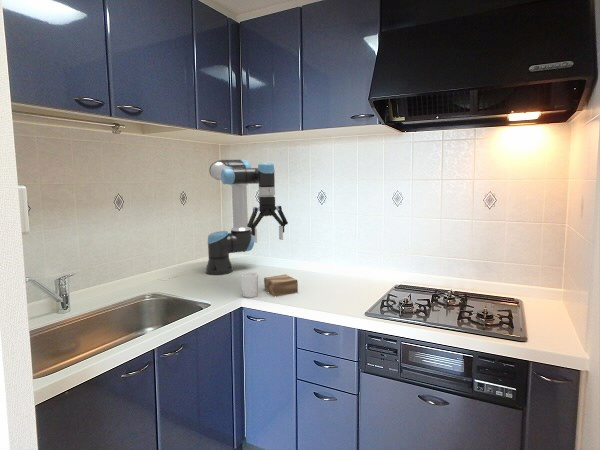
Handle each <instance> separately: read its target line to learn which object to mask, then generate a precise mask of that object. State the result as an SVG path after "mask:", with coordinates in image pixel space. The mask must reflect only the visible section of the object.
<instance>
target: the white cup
mask: <svg viewBox="0 0 600 450" xmlns="http://www.w3.org/2000/svg"><path fill="white" fill-rule="evenodd" d="M240 279H241V289H242V296H243V297H244V298H254V297H258V291H259V274H258V272H252V271H251V272H244V273H241V275H240Z"/></svg>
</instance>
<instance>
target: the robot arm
mask: <svg viewBox="0 0 600 450" xmlns="http://www.w3.org/2000/svg"><path fill="white" fill-rule="evenodd" d="M208 169H209V170H208V172H209V175H210V176H211V178H213V179H215V180H217V181H221V182H222V184H224V185H230V186H231V197H232V198H231V200H232V204H231V205H232V223H233V224H232V225H233V227H232V228H230V232H228V230H220V231H215V232H211V233H210V234H208V236H207V252H208V261H207V264H206V268H205V271H206V274H208V275H212V276H220V275H221V276H222V275H226V274H227V275H228V274H230V273H233V270H234V269H233V265H232V262H231V260H230V254H234V253H245V252H250V251H252V250H253V249H254V245H255V243H257V244H258V229H257V226H258V224H259V223H260V222H261V220H262V219H263V218H264V217H268V216H269V217H273V218H274V219H275V220H276V222H277V223H278V224H279V225H278V239H279V240H281V241H282V240H284V233H285V227H286V225H288V224H289V222H288V220H287V218H286V216H285V214H284V212H283V210H282V208H283V207H282V205H277V206H276V197H275V195H276V186H275V185H276V184H275V181H276V180H275V173H276V172H275V165H274V163H273V162H260V163H258V164H257V167H252V166H251V163H250V162H249V161H248V160H246V159H220V160H219V159H218V160H216V161H214V162H213V163H211V165H210V166H209V168H208ZM250 184H251V185H252V184H254V185H255V184H256V185H257V184H258V196H259V197H258V203H259V207H256V206H254V207H253V208H252V213H251V216H250V218H249V215H248V193H247V192H248V191H247V190H248V189H247V186H248V185H250ZM276 211H277V212H276ZM257 215H258V216H257ZM248 218H249V219H248Z"/></svg>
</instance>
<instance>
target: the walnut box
mask: <svg viewBox="0 0 600 450" xmlns="http://www.w3.org/2000/svg"><path fill="white" fill-rule="evenodd" d="M263 283H264V284H263V285H264V288H263V289H264V291H265V292H267V293H268V292H269V293H268V294H270V295H272V296H273V297H275V296H276V297H279V296H285V295H290V294H291V295H292V294H296V293H298V292H299V291H298V289H299V288H298V287H299V286H298V284H299V283H298V279H296V278H294V277H292V276H289V275H288V274H280V275H273V276H267V277H264V278H263Z"/></svg>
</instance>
